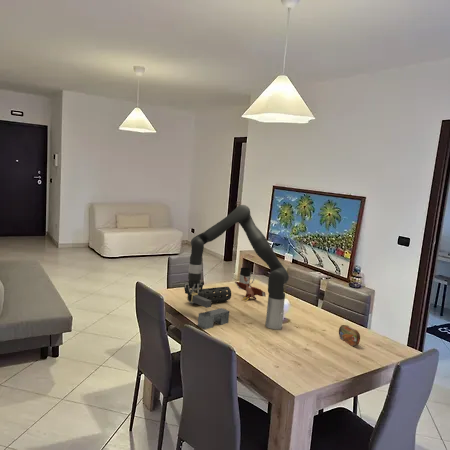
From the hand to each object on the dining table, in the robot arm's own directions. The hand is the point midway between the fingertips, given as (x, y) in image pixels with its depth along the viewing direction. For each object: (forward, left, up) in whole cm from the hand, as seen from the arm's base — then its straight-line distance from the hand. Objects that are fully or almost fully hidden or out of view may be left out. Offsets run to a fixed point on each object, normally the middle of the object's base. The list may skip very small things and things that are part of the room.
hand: (192, 299), depth 240 cm
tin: (-89, 0, -9) cm, 89 cm away
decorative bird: (-25, -46, -9) cm, 53 cm away
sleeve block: (-16, +9, -9) cm, 21 cm away
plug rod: (-5, +3, 0) cm, 6 cm away
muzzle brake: (-3, -26, -9) cm, 28 cm away
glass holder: (-18, -73, -9) cm, 76 cm away
